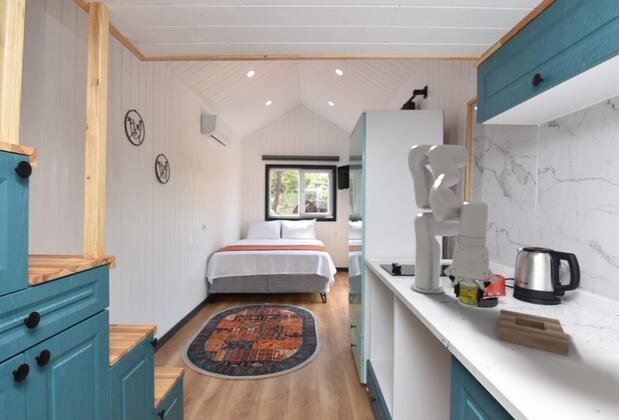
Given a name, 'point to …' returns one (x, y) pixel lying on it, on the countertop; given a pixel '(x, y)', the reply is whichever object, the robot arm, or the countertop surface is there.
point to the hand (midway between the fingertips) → (468, 298)
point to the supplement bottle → (468, 292)
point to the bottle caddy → (533, 331)
